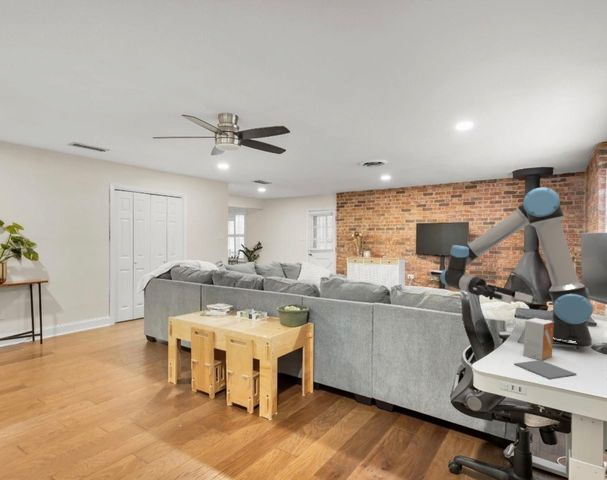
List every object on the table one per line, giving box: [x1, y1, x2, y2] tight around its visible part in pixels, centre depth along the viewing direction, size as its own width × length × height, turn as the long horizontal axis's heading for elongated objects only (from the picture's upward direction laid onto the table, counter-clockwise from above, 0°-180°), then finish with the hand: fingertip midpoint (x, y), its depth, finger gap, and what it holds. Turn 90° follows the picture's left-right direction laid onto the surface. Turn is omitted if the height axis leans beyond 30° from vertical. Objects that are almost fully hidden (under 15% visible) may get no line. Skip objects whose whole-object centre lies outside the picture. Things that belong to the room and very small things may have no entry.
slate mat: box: [514, 359, 577, 380], centre depth 115 cm, size 12×12×1 cm
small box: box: [522, 317, 554, 361], centre depth 127 cm, size 8×6×13 cm
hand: (521, 299), depth 134 cm, fingers open, 13 cm apart
